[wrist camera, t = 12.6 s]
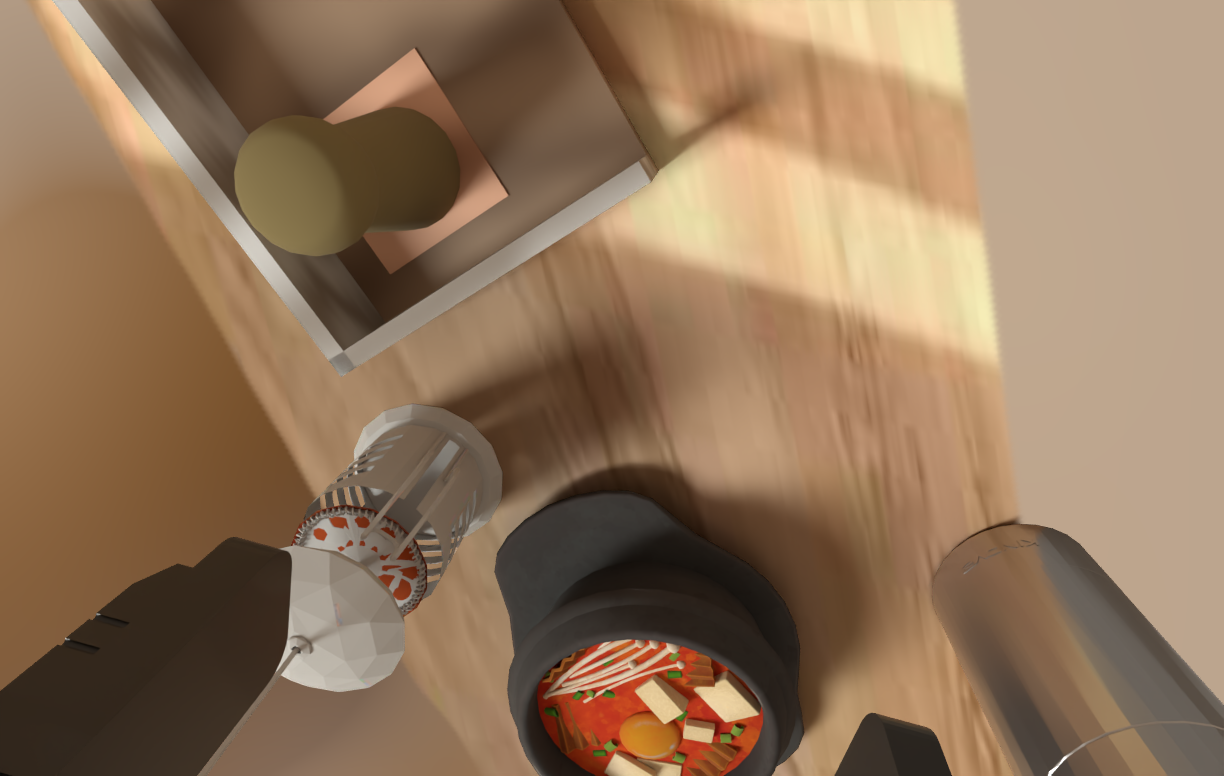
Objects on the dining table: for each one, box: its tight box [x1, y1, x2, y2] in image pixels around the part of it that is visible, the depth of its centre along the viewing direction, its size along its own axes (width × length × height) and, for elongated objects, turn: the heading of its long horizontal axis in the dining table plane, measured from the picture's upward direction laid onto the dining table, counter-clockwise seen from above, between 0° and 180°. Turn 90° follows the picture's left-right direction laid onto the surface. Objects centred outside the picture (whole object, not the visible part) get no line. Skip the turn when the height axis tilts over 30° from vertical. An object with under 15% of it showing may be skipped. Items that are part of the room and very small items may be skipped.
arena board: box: [52, 0, 658, 377], centre depth 32 cm, size 20×18×6 cm
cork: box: [234, 107, 460, 256], centre depth 30 cm, size 6×6×11 cm
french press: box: [198, 404, 503, 776], centre depth 32 cm, size 10×12×25 cm
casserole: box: [495, 490, 804, 776], centre depth 42 cm, size 25×19×8 cm
